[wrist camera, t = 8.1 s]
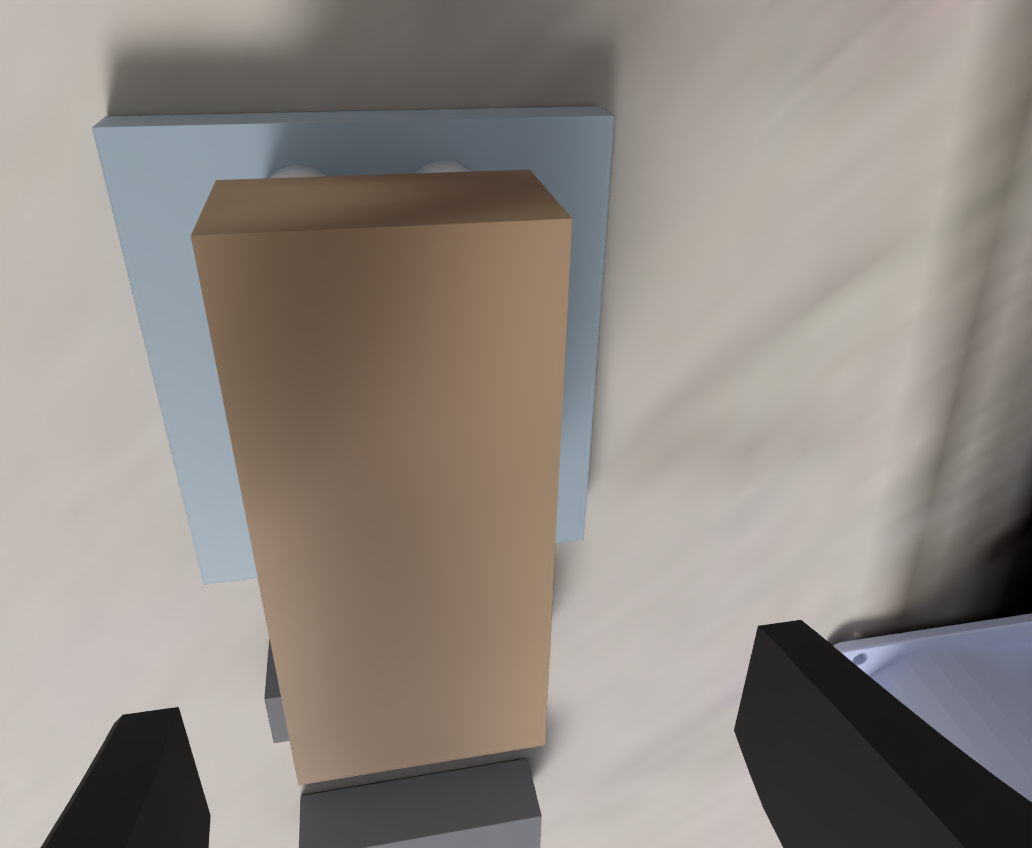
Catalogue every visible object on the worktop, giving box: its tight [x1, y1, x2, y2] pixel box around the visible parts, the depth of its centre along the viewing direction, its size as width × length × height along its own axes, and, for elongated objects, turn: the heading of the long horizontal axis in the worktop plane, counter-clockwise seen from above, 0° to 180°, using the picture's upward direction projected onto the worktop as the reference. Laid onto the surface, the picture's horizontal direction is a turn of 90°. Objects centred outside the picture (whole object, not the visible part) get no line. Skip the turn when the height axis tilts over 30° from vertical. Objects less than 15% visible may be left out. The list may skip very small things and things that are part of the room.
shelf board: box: [191, 169, 572, 785], centre depth 13 cm, size 4×10×2 cm, turn 179°
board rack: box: [265, 638, 542, 848], centre depth 23 cm, size 7×8×2 cm
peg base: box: [92, 106, 615, 585], centre depth 16 cm, size 9×10×4 cm
